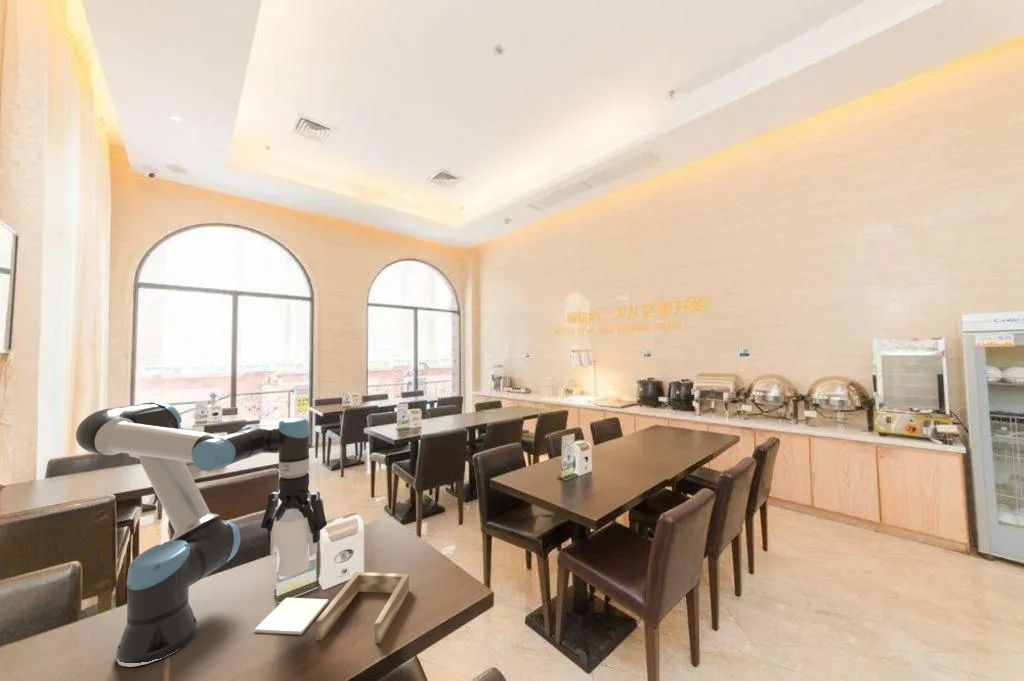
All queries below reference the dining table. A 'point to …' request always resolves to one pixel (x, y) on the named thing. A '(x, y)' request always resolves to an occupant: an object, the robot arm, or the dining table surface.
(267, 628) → the tile
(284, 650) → the dining table surface
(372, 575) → the frame
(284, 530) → the cup
